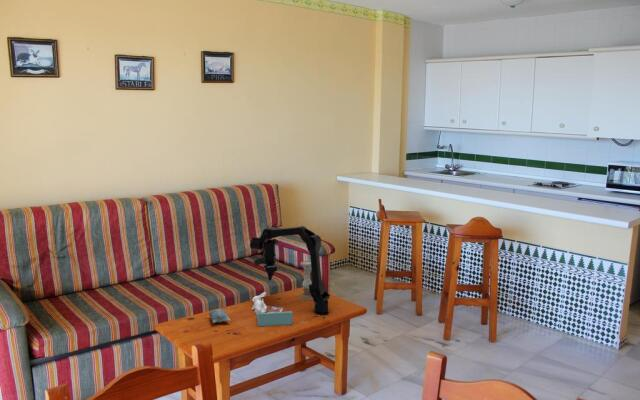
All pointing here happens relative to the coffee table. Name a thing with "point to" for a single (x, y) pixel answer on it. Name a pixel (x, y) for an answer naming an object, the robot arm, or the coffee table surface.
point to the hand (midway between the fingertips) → (269, 280)
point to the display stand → (274, 318)
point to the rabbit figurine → (259, 304)
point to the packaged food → (218, 316)
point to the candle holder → (306, 281)
